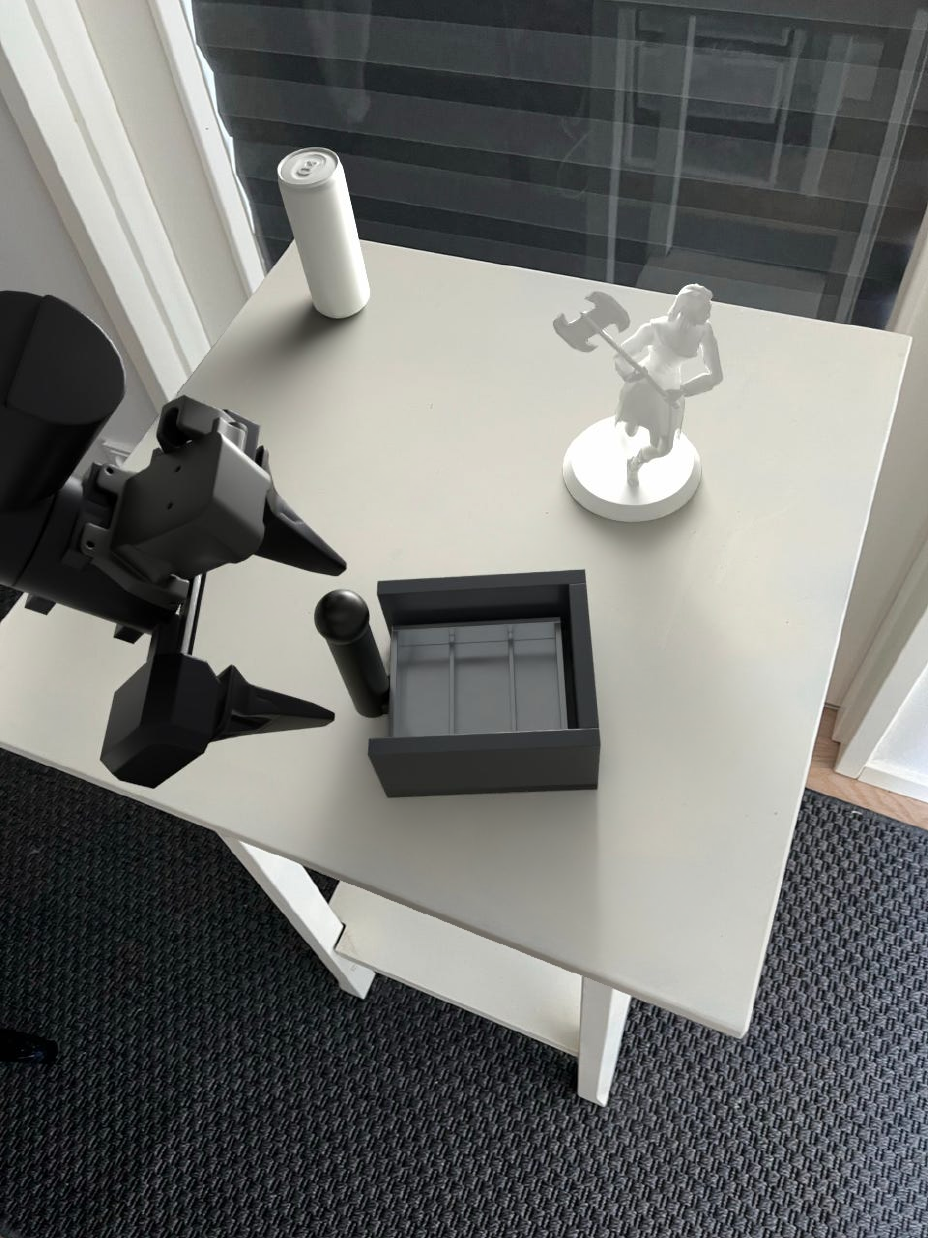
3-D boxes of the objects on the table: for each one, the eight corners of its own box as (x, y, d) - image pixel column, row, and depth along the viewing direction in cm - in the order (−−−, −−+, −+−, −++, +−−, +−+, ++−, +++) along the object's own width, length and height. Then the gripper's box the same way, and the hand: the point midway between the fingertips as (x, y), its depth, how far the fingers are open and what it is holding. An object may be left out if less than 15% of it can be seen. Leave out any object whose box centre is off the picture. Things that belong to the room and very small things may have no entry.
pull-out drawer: (347, 767, 53) (300, 674, 44) (356, 646, 57) (314, 538, 48) (569, 757, 52) (569, 660, 43) (560, 635, 56) (559, 523, 47)
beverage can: (381, 289, 77) (353, 151, 67) (354, 327, 75) (320, 190, 65) (331, 278, 79) (296, 141, 68) (303, 314, 76) (262, 178, 66)
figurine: (556, 522, 62) (551, 303, 47) (558, 418, 67) (555, 190, 52) (706, 521, 61) (750, 297, 46) (697, 416, 66) (735, 182, 51)
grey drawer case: (386, 798, 53) (367, 755, 48) (393, 634, 59) (377, 580, 54) (597, 790, 52) (600, 745, 47) (583, 623, 58) (585, 568, 53)
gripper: (46, 633, 30) (426, 756, 39) (148, 267, 40) (433, 427, 49) (-46, 745, 38) (290, 827, 46) (59, 411, 48) (320, 529, 56)
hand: (337, 641), depth 49 cm, fingers open, 9 cm apart
